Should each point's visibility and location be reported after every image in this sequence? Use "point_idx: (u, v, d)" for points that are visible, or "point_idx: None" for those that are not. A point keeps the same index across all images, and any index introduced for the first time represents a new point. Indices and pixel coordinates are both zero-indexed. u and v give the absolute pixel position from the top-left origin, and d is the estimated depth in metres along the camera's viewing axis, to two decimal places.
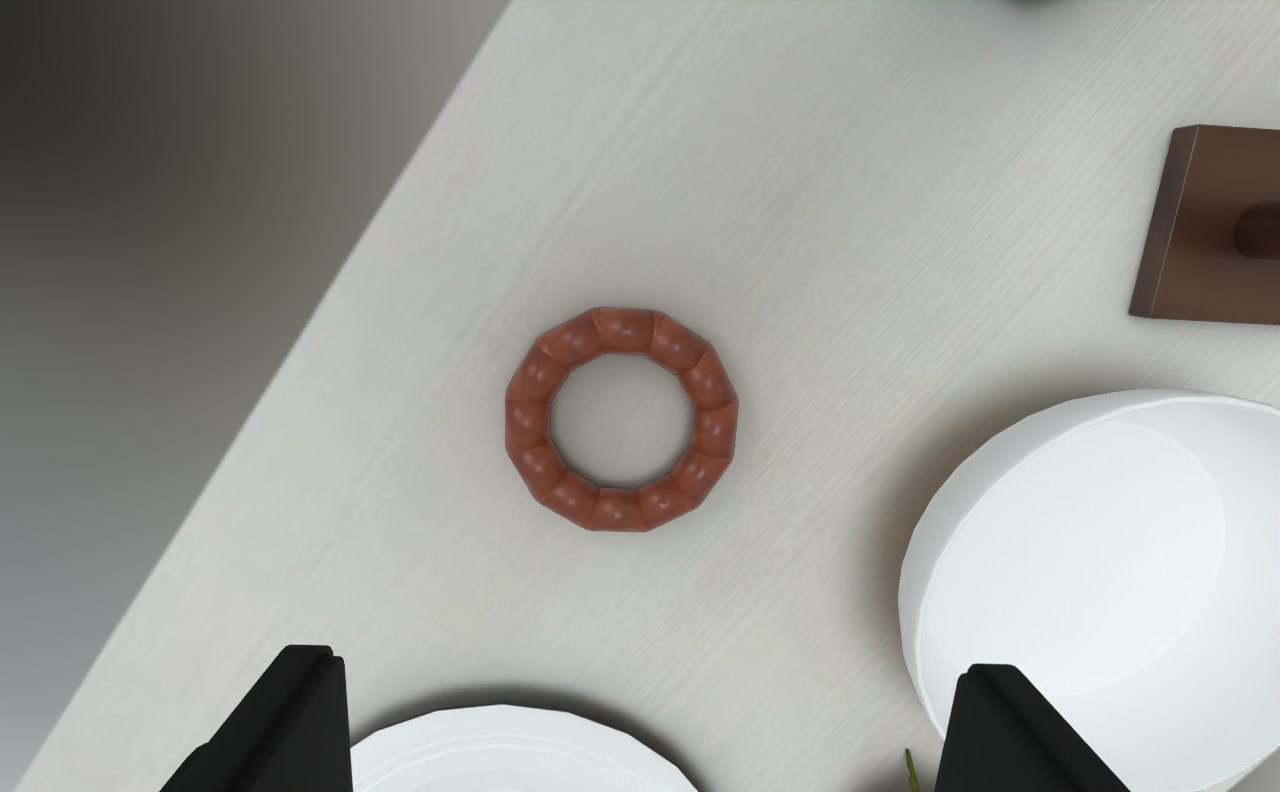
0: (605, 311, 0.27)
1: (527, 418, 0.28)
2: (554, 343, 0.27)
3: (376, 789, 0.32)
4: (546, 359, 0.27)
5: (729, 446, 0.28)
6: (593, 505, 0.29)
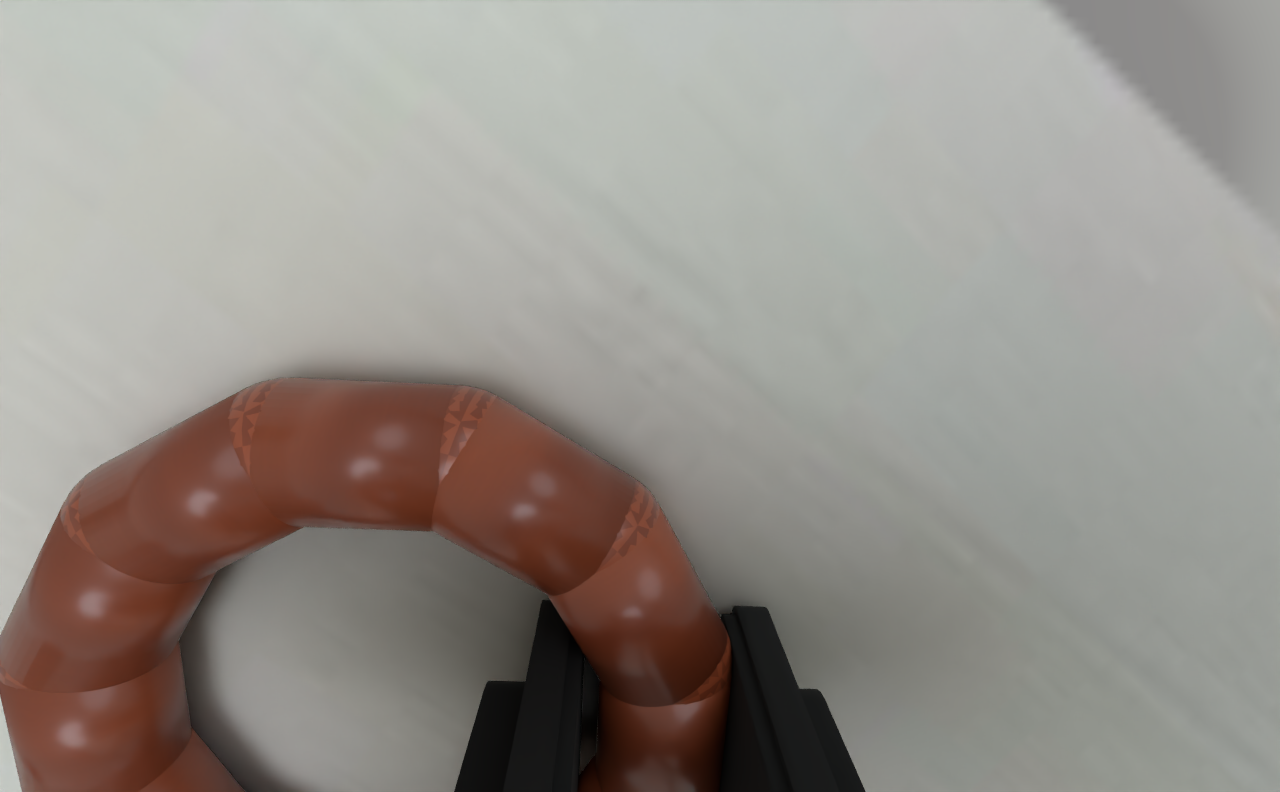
0: (728, 688, 0.09)
1: (374, 490, 0.08)
2: (641, 572, 0.08)
3: None
4: (589, 556, 0.08)
5: None
6: (84, 684, 0.09)
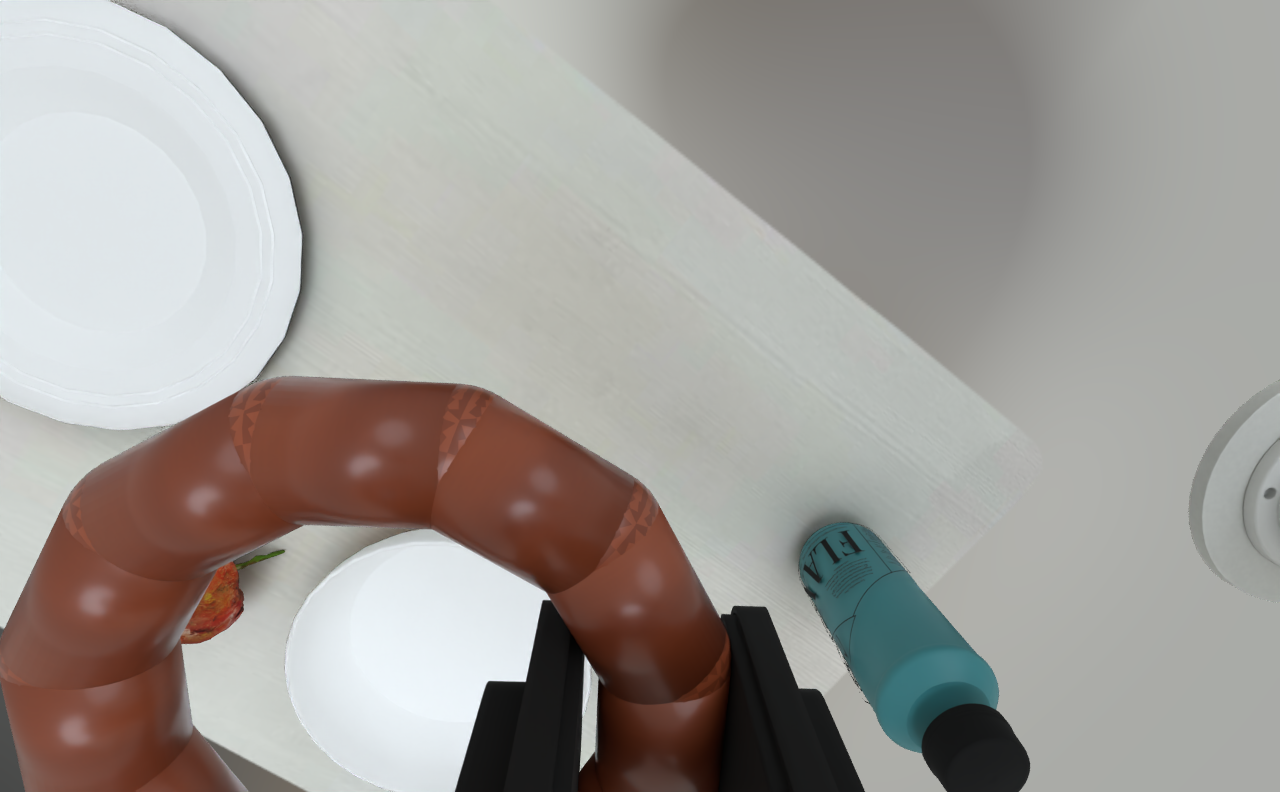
0: (726, 686, 0.09)
1: (374, 488, 0.08)
2: (640, 570, 0.08)
3: (198, 115, 0.36)
4: (588, 554, 0.08)
5: None
6: (86, 681, 0.09)
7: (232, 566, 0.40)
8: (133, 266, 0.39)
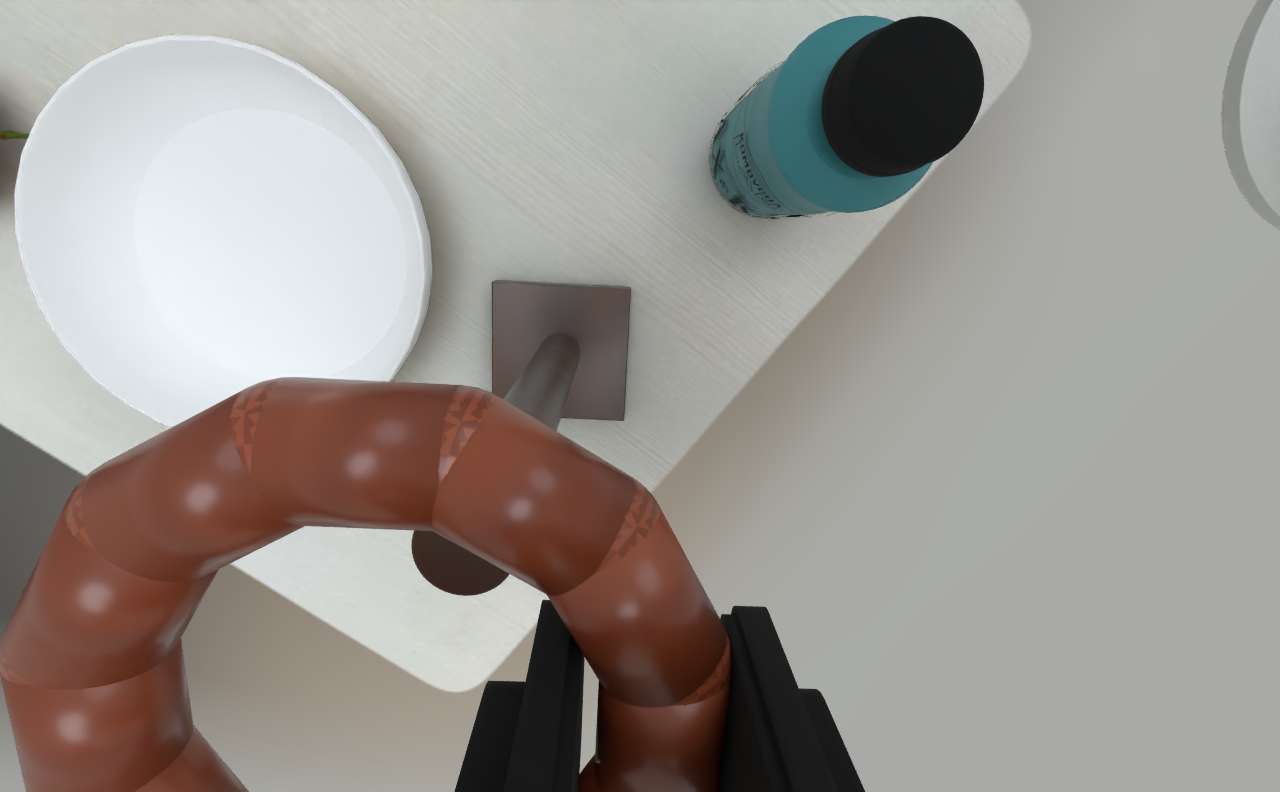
0: (727, 688, 0.09)
1: (374, 489, 0.08)
2: (640, 573, 0.08)
3: None
4: (588, 556, 0.08)
5: None
6: (87, 681, 0.09)
7: None
8: None
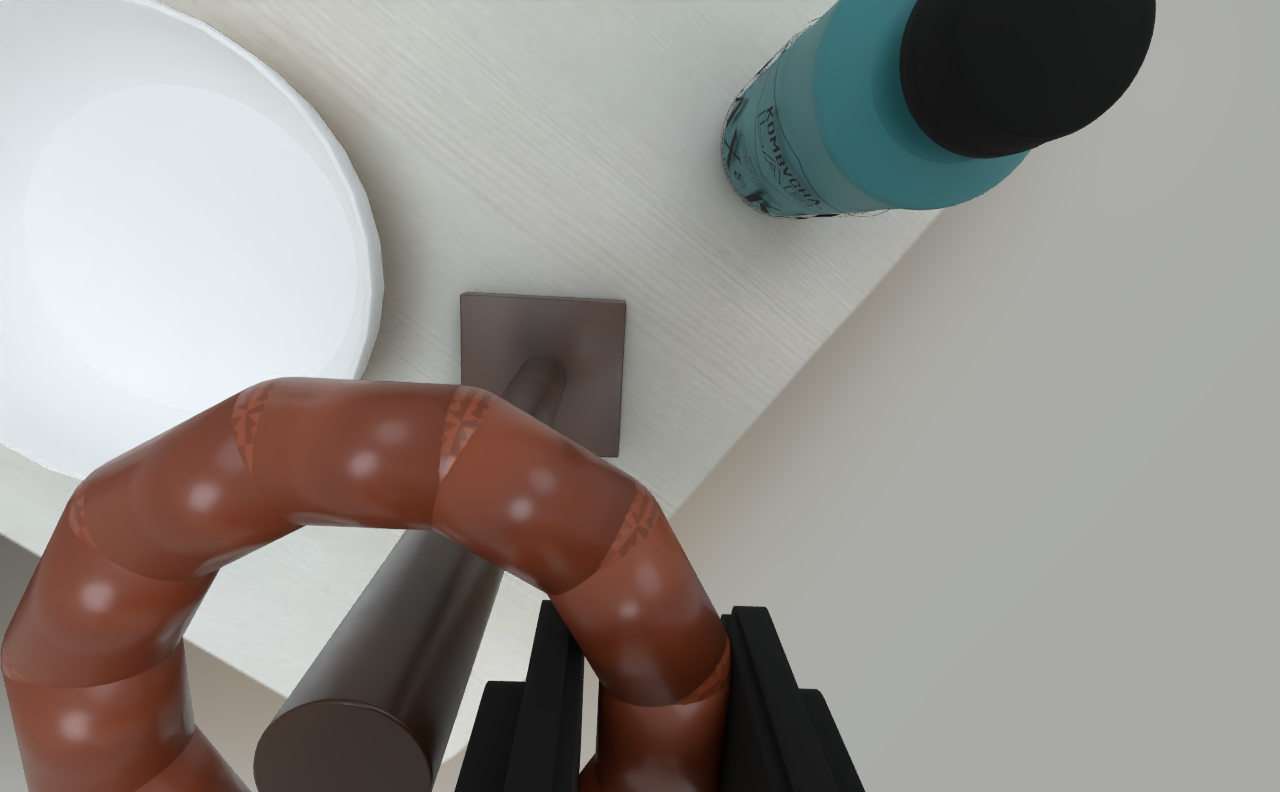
0: (727, 687, 0.09)
1: (375, 489, 0.08)
2: (640, 573, 0.08)
3: None
4: (589, 556, 0.08)
5: None
6: (89, 679, 0.09)
7: None
8: None
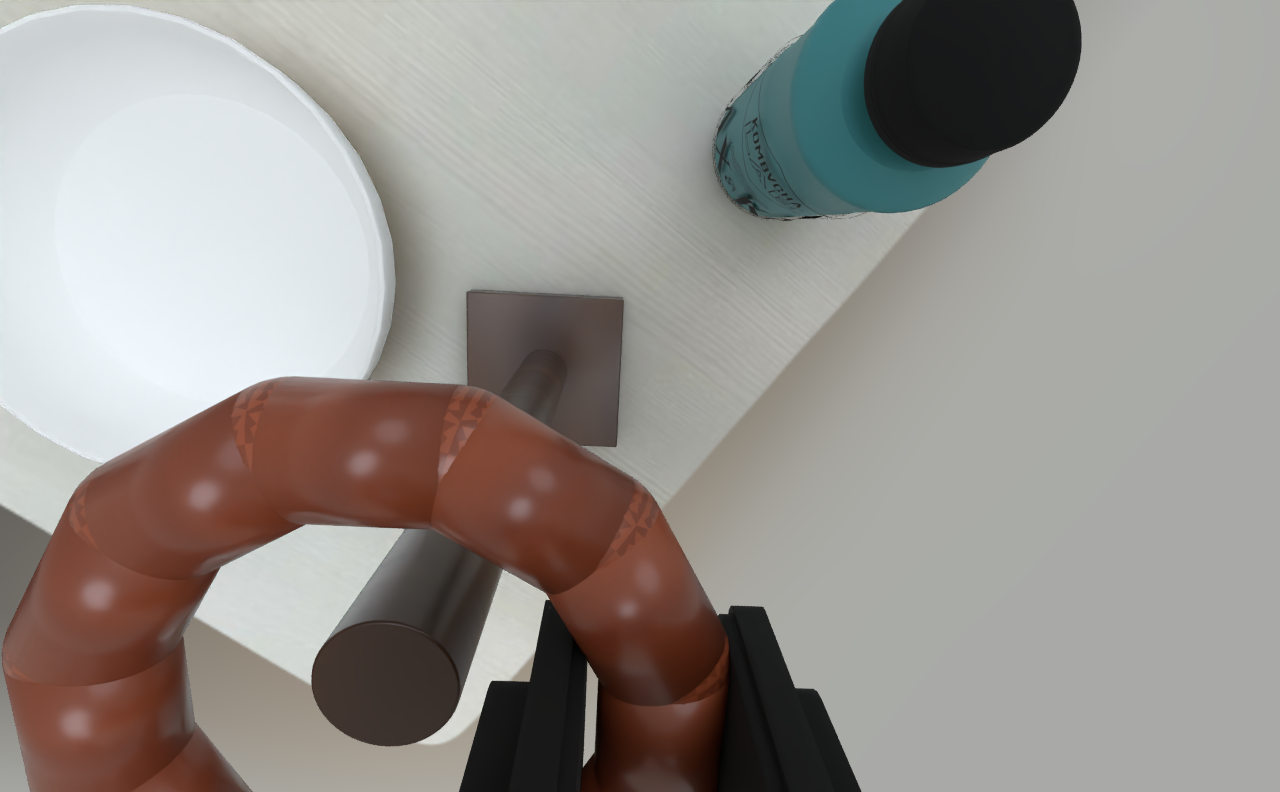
0: (726, 688, 0.09)
1: (375, 488, 0.08)
2: (639, 572, 0.08)
3: None
4: (587, 555, 0.08)
5: None
6: (89, 678, 0.09)
7: None
8: None
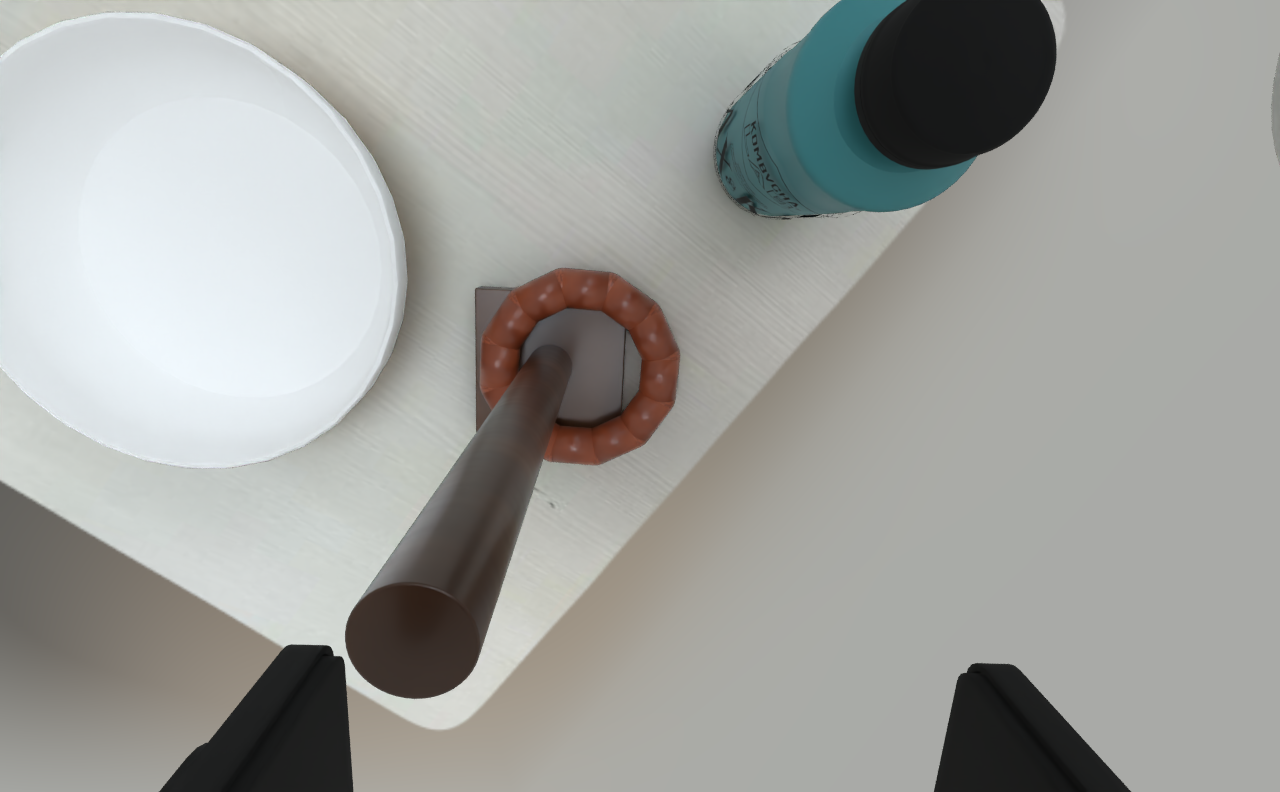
0: (678, 362, 0.33)
1: (591, 294, 0.32)
2: (656, 321, 0.32)
3: None
4: (643, 314, 0.32)
5: (561, 460, 0.34)
6: (508, 346, 0.32)
7: None
8: None
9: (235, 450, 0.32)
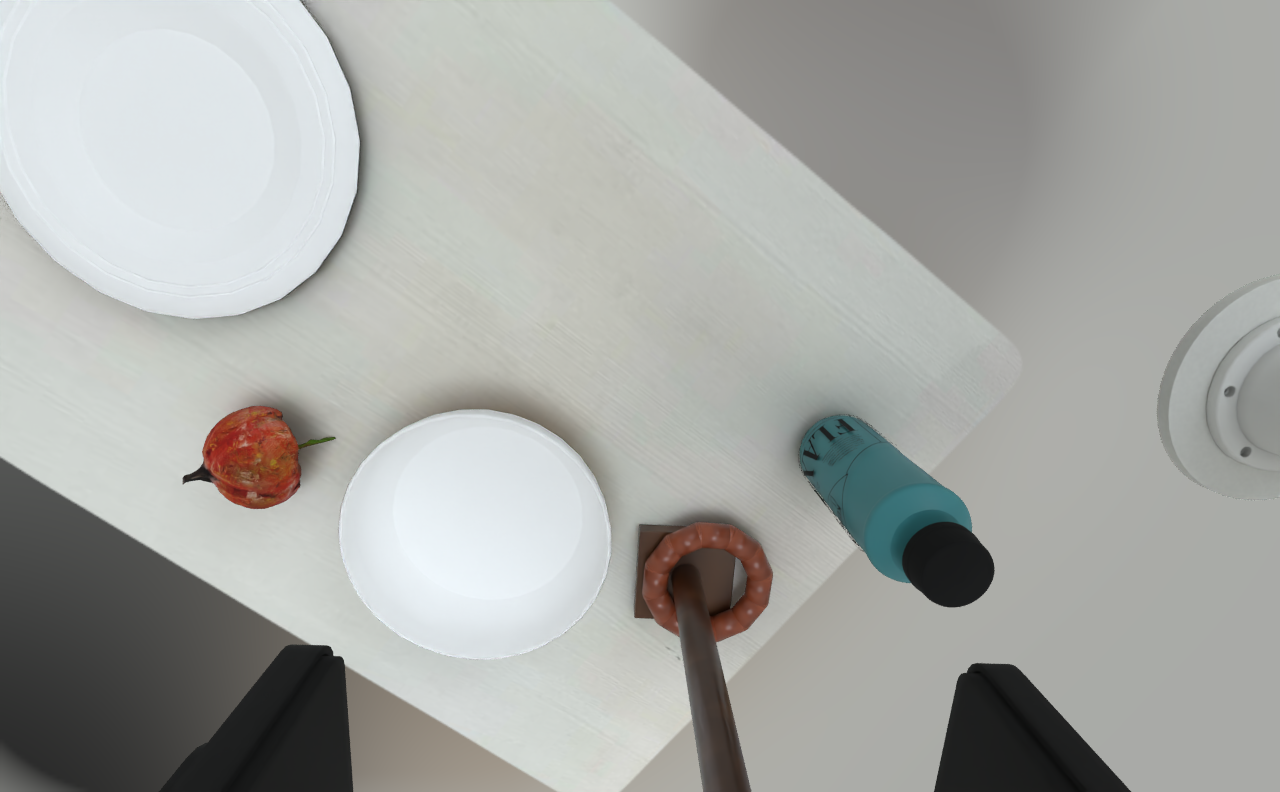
0: (771, 579, 0.52)
1: (719, 543, 0.50)
2: (759, 557, 0.50)
3: (272, 31, 0.41)
4: (751, 554, 0.50)
5: None
6: (664, 573, 0.51)
7: (293, 439, 0.45)
8: (210, 170, 0.44)
9: (494, 643, 0.50)
